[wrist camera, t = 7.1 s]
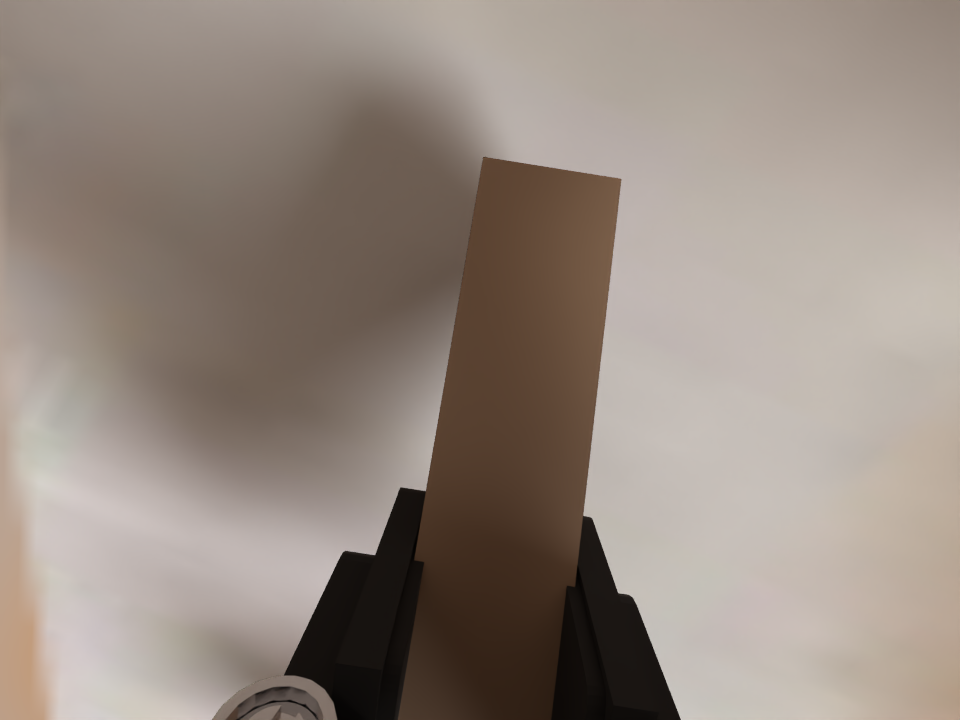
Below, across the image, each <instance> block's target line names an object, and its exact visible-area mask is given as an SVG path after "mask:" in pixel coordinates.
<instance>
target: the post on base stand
mask: <svg viewBox="0 0 960 720" xmlns="http://www.w3.org/2000/svg"><path fill="white" fill-rule="evenodd" d="M620 186H621V179H618V178H612V177H606V176H599V175H593V174H587V173H581V172H574V171H568V170H562V169H556V168H549V167H543V166H537V165H531V164H524V163H518V162H512V161H505V160H499V159H493V158H487V157H483V162H482V168H481V174H480V179H479V185H478V191H477V197H476V203H475V209H474V214H473V220H472V226H471V232H470V238H469V244H468V249H467V255H466V261H465V267H464V273H463V279H462V284H461V290H460V296H459V302H458V308H457V314H456V319H455V325H454V331H453V337H452V343H451V348H450V354H449V360H448V366H447V372H446V378H445V383H444V389H443V395H442V401H441V407H440V413H439V418H438V424H437V430H436V436H435V442H434V448H433V453H432V459H431V465H430V471H429V477H428V483H427V488H426V494H425V500H424V506H423V512H422V518H421V523H420V529H419V535H418V541H417V547H416V553H415V558H414V560H416V561H422V562H424V567H423V573H422V579H421V585H420V591H419V597H418V603H417V609H416V615H415V621H414V627H413V633H412V639H411V645H410V650H409V656H408V662H407V668H406V674H405V680H404V686H403V692H402V698H401V704H400V710H399V716H398V720H551V717H552V708H553V700H554V691H555V682H556V674H557V665H558V657H559V648H560V640H561V631H562V622H563V614H564V605H565V597H566V588H567V586H572V587H575V582H576V573H577V564H578V556H579V547H580V538H581V529H582V520H583V512H584V503H585V494H586V485H587V476H588V468H589V459H590V450H591V441H592V432H593V423H594V415H595V406H596V397H597V388H598V379H599V371H600V362H601V353H602V344H603V335H604V327H605V318H606V309H607V300H608V291H609V283H610V274H611V265H612V256H613V247H614V239H615V230H616V221H617V212H618V203H619V195H620Z"/></svg>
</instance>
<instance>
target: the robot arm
mask: <svg viewBox="0 0 960 720" xmlns="http://www.w3.org/2000/svg"><path fill="white" fill-rule="evenodd" d="M425 494H426V491H420V490H414V489H408V488H400V490H399V492H398V495H397V498H396V500H395V503H394V506H393V509H392V511H391V514H390V517H389V519H388V522H387V525H386V528H385V530H384V533H383V536H382V538H381V541H380V544H379V546H378V549H377V552H376V555H369V554H362V553H356V552H349V551H345V552H343V553H342V555H341V557H340V559H339V561H338V563H337V565H336V567H335V569H334V571H333V573H332V575H331V577H330V580H329V582H328V584H327V586H326V588H325V590H324V592H323V594H322V596H321V598H320V601H319V603H318V605H317V607H316V609H315V611H314V613H313V615H312V617H311V619H310V622H309V624H308V626H307V628H306V630H305V632H304V634H303V636H302V638H301V640H300V643H299V645H298V647H297V649H296V651H295V653H294V655H293V657H292V659H291V661H290V663H289V666H288V668H287V670H286V672H285V674H284V676H275V677H271V678H267V679H263V680H260V681H257V682H255V683H253V684H251V685H249V686H248V687H246V688H244V689H242V690H240V691H238V692H237V693H236V694H235V695H234V696H233V697H231V698H230V699H229V700H228V701H227V702H226V703H224V704H223V705H222V706H221V708H220V709H219V710H218V712H217V713H216V715H215V716H214V717H213V719H212V720H398V716H399V710H400V704H401V698H402V692H403V686H404V680H405V674H406V668H407V662H408V656H409V650H410V645H411V639H412V633H413V627H414V621H415V615H416V609H417V603H418V597H419V591H420V585H421V579H422V573H423V567H424V562H422V561H416V560H414V558H415V553H416V547H417V541H418V535H419V529H420V523H421V518H422V512H423V506H424V500H425ZM551 720H681V719H680V717H679V714H678V711H677V709H676V706H675V704H674V701H673V698H672V696H671V693H670V691H669V688H668V685H667V683H666V680H665V678H664V675H663V672H662V670H661V667H660V665H659V662H658V659H657V657H656V654H655V652H654V649H653V646H652V644H651V641H650V639H649V636H648V633H647V631H646V628H645V626H644V623H643V621H642V618H641V615H640V613H639V610H638V608H637V605H636V603H635V601H634V599H633V598H632V597H631V596H630V595H626V594H619V593H618V592H617V589H616V586H615V583H614V580H613V577H612V574H611V571H610V569H609V566H608V563H607V560H606V557H605V554H604V551H603V548H602V545H601V543H600V540H599V537H598V534H597V531H596V528H595V525H594V522H593V520H592V518H590V517H585V516H583V520H582V529H581V538H580V547H579V556H578V564H577V573H576V582H575V587H572V586H567V588H566V597H565V605H564V614H563V622H562V631H561V640H560V648H559V657H558V665H557V674H556V682H555V691H554V700H553V708H552V717H551Z"/></svg>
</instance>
